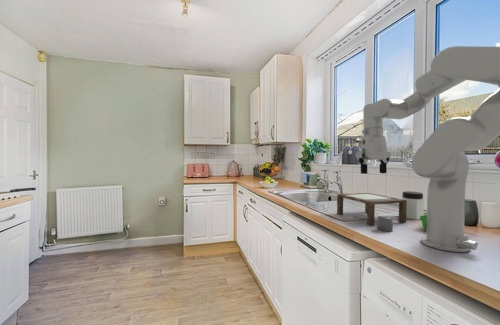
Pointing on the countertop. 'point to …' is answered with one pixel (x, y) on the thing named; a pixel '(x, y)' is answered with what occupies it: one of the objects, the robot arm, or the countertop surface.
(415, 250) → the countertop surface
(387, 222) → the metal canister
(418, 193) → the jar
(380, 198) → the trapdoor
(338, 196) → the trapdoor frame
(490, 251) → the countertop surface
